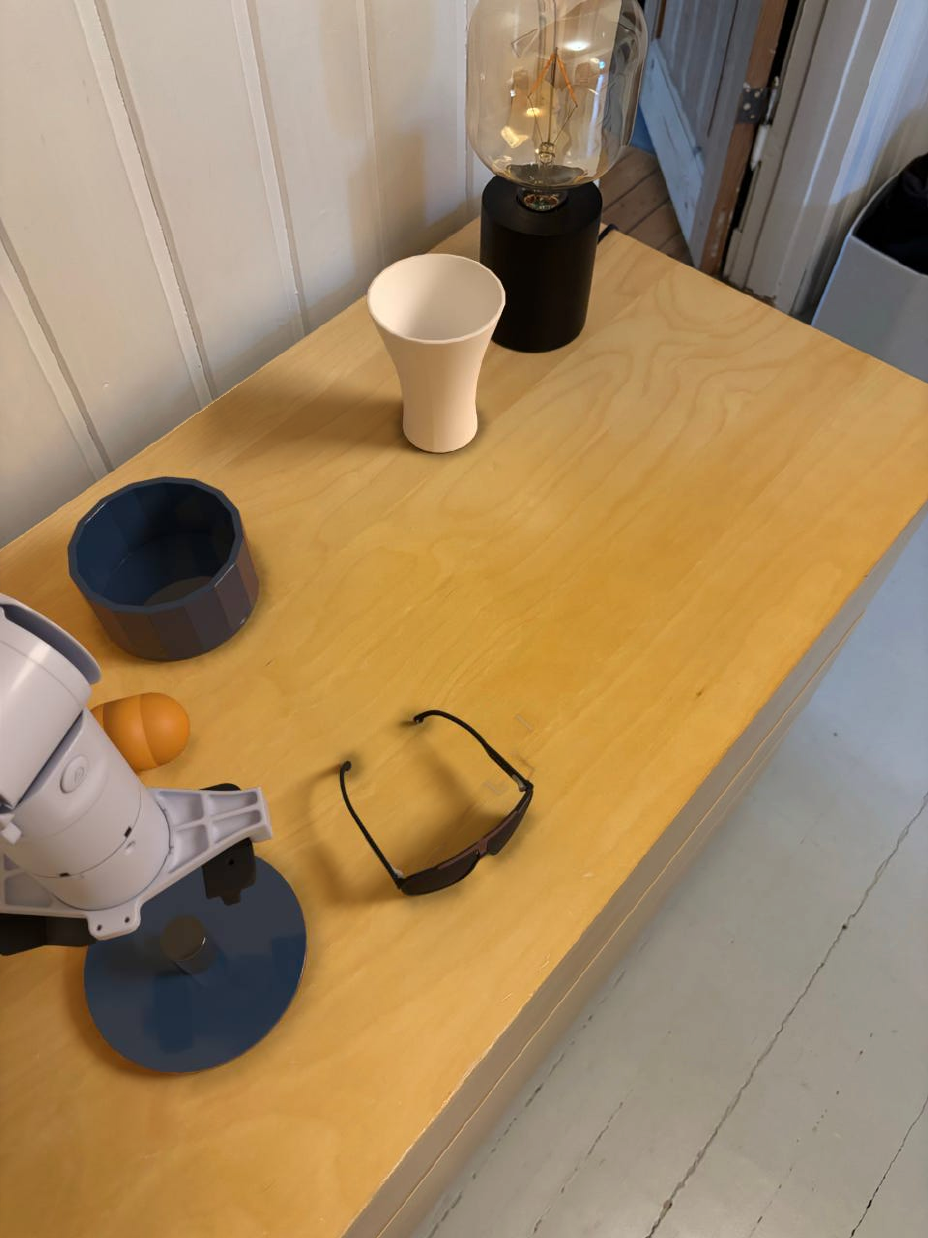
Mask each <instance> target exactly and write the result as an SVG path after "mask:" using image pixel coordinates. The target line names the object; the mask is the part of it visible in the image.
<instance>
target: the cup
mask: <svg viewBox="0 0 928 1238" xmlns="http://www.w3.org/2000/svg"><path fill="white" fill-rule="evenodd" d="M365 303H366V307H367V310H368V314H369V316H370V318H371V320H372V322H373V324H374V326H375V327H376V329H377V332H378V333H379V335H380V338H381V340H382V342H383V344H384V346H385V348H386V350H387V352H388V354H389V356H390V358H391V360H392V363H393V365H394V368H395V370H396V374H397V377H398V380H399V384H400V390H401V396H402V403H403V416H402V417H403V418H402V430H403V434H404V436H405V437H406V439H407V440H408V441H409V442H410V443H411V444H412V445H414V447H416V448H419V449H421V450H423V451H425V452H431V453H447V452H453V451H456V450H458V449H461V448H463V447H465V446H466V445H468V444H469V443H470V442H471V441H472V440H473V439H474V437H475V436H476V433H477V430H478V416H477V408H476V407H477V406H476V397H477V396H476V395H477V386H478V385H477V384H478V381H479V380H478V379H479V376H480V371H481V367H482V362H483V360H484V357H485V354H486V352H487V349H488V346H489V344H490V341H491V339H492V337H493V334H494V331H495V329H496V327H497V324H498V322H499V321H500V318H501V315H502V312H503V310H504V307H505V305H506V291H505V289H504V287H503V284H502V282H501V280H500V278H498V277H497V275H496V274H495V273H494V272H493V270H491V269H490V268H488V267H486V266H485V265H483V264H482V263H480V262H479V261H475V260H473V259H471V258H468V257H466V256H461V255H457V254H449V253H425V254H418V255H413V256H410V257H409V256H408V257H407V258H403V259H401V260H397V261H396V262H394V263H392V264H391V265H389V266H387V267H386V268H383V270H381V272H380V273H378V274H377V275H376V276H375V277H374V278H373V280H372V282H371V284H370V285H369V287H368V289H367V292H366V299H365Z"/></svg>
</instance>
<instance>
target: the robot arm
mask: <svg viewBox="0 0 928 1238" xmlns="http://www.w3.org/2000/svg"><path fill="white" fill-rule="evenodd" d="M102 674H103V673H102V670H101V667H100V665H99V663H98V662H97V659H95V657H94V656H93V655H92V654H91V653H90V652H89V651H88V649H87V648H86V647H85V646H84V645H83V644H82V643H80V642H79V641H78V640H77V639H76V638H75V637H74V636H72V635H71V634H70V633H69V632H67V631H66V630H65V629H63V628H62V627H61V626H59V625H58V624H57V623H55V622H54V621H52V620H51V619H50V618H48V617H46V616H45V615H43V614H41V613H40V612H38V611H37V610H34V609H33V608H31V607H30V606H28V605H26V604H25V603H23V602H21V601H19V600H17V599H15V598H13V597H11V596H9V595H7V594H4V593H1V592H0V956H2V957H9V956H13V955H17V954H21V953H24V952H27V951H28V952H29V951H31V950H34V949H38V948H42V947H44V946H45V947H47V946H49V947H50V946H51V947H52V946H53V947H54V946H57V947H68V948H86V947H88V946H89V945H93V944H96V943H97V942H96V939H98V940H107V939H111V938H114V937H118V936H121V935H125V934H128V933H131V932H133V931H135V930H136V929H137V928H138V926H139V925H140V920H141V917H140V908H141V906H142V905H143V903H145V902H146V901H147V900H149V899H151V898H152V897H154V896H155V895H157V894H158V893H160V892H161V891H163V890H164V889H166V888H167V887H169V886H170V885H172V884H173V883H175V882H177V881H178V880H180V879H181V878H183V877H184V876H186V875H187V874H189V873H190V872H192V871H193V870H195V869H196V868H198V867H200V866H201V865H202V871H203V878H204V885H205V892H206V897H207V898H208V899H211V898H215V897H218V896H219V897H221V898H222V900H223V902H224V903H225V905H227V906H229V905H233V904H236V903H240V901H241V894H240V893H241V890H242V889H245V888H248V887H250V886H252V885H254V884H255V881H256V874H257V866H256V860H255V855H256V854H255V850H254V844H258V843H262V842H267V841H270V840H273V839H274V832H273V827H272V819H271V815H270V810H269V805H268V802H267V799H266V797H265V795H264V792H263V791H262V788H261V787H260V786H254V787H251V788H245V789H241V787H239V786H238V785H237V784H234V783H232V782H223V783H219V784H214V785H210V786H208V787H203V788H200V789H189V788H172V787H171V788H170V787H154V786H145V785H144V784H143V782H142V781H141V780H140V778H139V777H138V776H137V774H136V772H135V773H134V771H133V770H132V769H131V768H130V766H129V764H128V763H127V762H126V760H125V759H124V758H123V756H122V755H121V753H120V752H119V751H118V749H117V748H116V747H115V745H114V744H113V742H112V741H111V740H110V738H109V737H108V736H107V734H106V733H105V731H104V730H103V729H102V727H101V726H100V724H99V723H98V722H97V720H96V719H95V718H94V716H93V715H92V713H91V712H90V709H89V708H88V707H87V704H88V702H89V701H90V699H91V698H92V695H93V692H92V687H91V686H92V685H96V684H98V683H99V682H100V681H101V679H102V676H103V675H102ZM253 843H254V844H253Z"/></svg>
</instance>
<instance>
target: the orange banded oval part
mask: <svg viewBox="0 0 928 1238" xmlns="http://www.w3.org/2000/svg"><path fill="white" fill-rule="evenodd" d="M89 711H90V712H91V713H92V715H93V716H94V718H95V719H96V720H97V722H98V723H99V724H100V726H101V727H102V729H103V730H104V731H105V733H106V734H107V736H108V737H109V738H110V740H111V741H112V742H113V744H114V745H115V747H116V748H117V749H118V751H119V752H120V753H121V755H122V756H123V758H124V759H125V760H126V762H127V763H128V764H129V766H130V768H131V769H132V770H133V771H134V773H135V774H136V773H139V772H142V771H146V770H150V769H154V768H158V767H161V766H164V765H167V764H169V763H170V762H172V761H173V760H175V759H177V757H178V756H180V755H181V753H182V752H183V751H184V749H185V748H186V747H187V744H188V742H189V739H190V736H191V722H190V717H189V715H188V713H187V711H186V709H185V708H184V706H182V703H180V702H179V701H178V700H176V699H175V698H174V697H172V696H170V695H168V694H165V693H162V692H145V693H139V694H135V695H131V696H127V697H122V698H118V699H114V700H111V701H106V702H103V703H101V704H97V705H95V706H94V707H93V708H91V709H89Z"/></svg>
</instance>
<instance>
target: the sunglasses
mask: <svg viewBox="0 0 928 1238" xmlns="http://www.w3.org/2000/svg"><path fill="white" fill-rule="evenodd" d="M431 716H436V717H437V716H438V717H442V718H443V719H447V720H449V721H451V722H453V723H455V724H456V725H458V726H460V727H461V728H463V729H464V730H465V731H467V732H468V733H469V734H471V736H473V737H474V739H475V740H477V741H478V742H479V743H480V745H481V746H482V747H483V749H484V751H485V752H486V754H487V755H488V757H489V758H490V759H491V760H492V761H493V762H494V763H495V764H496V765H497V766H498V767H499V768H500V769H502V771H503V772H504V773H506V774H507V775H508V776H509V777H510V778H511V779H512V781H514V782H515V783H516V784H517V786H518V791H519V792H520V793H524V794H523V795H522V797H521V799H520V800H519V801H518V802H517V804H516V805H515V807H514V808H513V809H512V810H511V811H510V812H509V813H508V814H507V815H506V816H505V817H504V818H503V820H502V821H500V822H499V823H498V824H497V825H496V826H495V827H494V828H492V829H491V830H489V831H488V832H487V833H486V834H484V835H482V836H481V837H480V838H478V839H477V840H475V842H473V843H472V844H470V845H469V846H467V848H465V849H463V850H462V851H460V852H458V853H457V854H456V855H454V856H451V857H449V858H448V859H445V860H444V861H442V862H439V863H438V864H436V865H434V866H432V867H428V868H426V869H423V870H421V871H417V872H415V873H411V874H409V875H407V876H406V877H405V878H404V874H403V872H402V870H399V869H396V868H395V867H393V865H392V864H391V862H389V861H388V860H387V858H386V857H385V855H384V853H383V852H382V851H381V849H380V847H379V846H378V845H377V842H375V840H374V838H373V837H372V836H371V833H370V832H369V831H368V829H367V828H366V826H365V825H364V823H363V822H362V820H361V819H360V817H359V815H358V814H357V812H356V810H355V809H354V807H353V806H352V804H351V801H350V799H349V796H348V793H347V789H346V782H345V773H346V772H349V771H350V770H351V769H352V763H351V761H350V760H346V761H345V762H344V763H343V764H342V765H341V766H340V769H339V785H340V790H341V794H342V798H343V801H344V803H345V806H346V808H347V810H348V812H349V814H350V816H351V817H352V819H353V820H354V822H355V823H356V825H357V827H358V828H359V830H360V832H361V833H362V835H363V837H364V839H365V840H366V842H367V844H368V845H369V846H370V848H371V849H372V851H373V852H374V854H375V856H376V857H377V859H378V860H379V862H380V863H381V865H382V866H383V867H384V869H385V871H386V873H387V874H388V875H389V877H390V878H391V880H392V882H393V883H394V885H395V886H396V888H397V890H398V891H401V893H402V894H403V895H405V896H411V897H413V896H414V897H415V896H422V895H428V894H432V893H436V892H439V891H443V890H444V889H447V888H450V887H452V886H453V885H456V884H458V883H460V882H461V881H462V880H464V879H466V878H467V877H468V876H469V875H470V874H471V873H472V872H473V871H474V870H475V868H476V867H477V865H478V863H479V862H480V861H481V860H482V859H483V858H484V857H486V856H487V855H490V856H493V857H494V856H496V855H498V854H499V853H500V852H501V851H502V850H503V849H504V847H505V846H506V844H508V842H509V841H510V839H511V838H512V837H513V835H514V834H515V832H516V831H517V829H518V827H519V826H520V824H521V822H522V820H523V818H524V817H525V814H526V812H527V810H528V809H529V806H530V804H531V802H532V799H533V796H534V787H535V785H534V783H532V782H531V781H530V780H529V779H526V778H525V777H524V776H523V775H522V774H521V773H520V772H519V771H518V770H516V769H515V767H513V765H512V764H510V763H509V762H508V761H507V760H506V759H505V757H503V756H502V755H501V754H500V753H498V751H497V750H495V748H494V747H492V746H491V745H490V744H489V743H488V742H487V740H486V739H485V738H484V737H483V736H482V735H481V734H480V733H479V732H477V730H476V729H474V728H473V727H472V726H470V725H469V724H468V723H467V722H465V721H463V720H462V719H460V718H459V717H457V716H455V715H453V714H451V713H448V712H446V711H444V710H440V709H428V710H425V711H423V712H421V713H418V714H416V715H414V716H413V718H412V720H413V723H414V724H417V725H418V724H421V723H423V722H424V720H425V719H426V718H428V717H431Z"/></svg>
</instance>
